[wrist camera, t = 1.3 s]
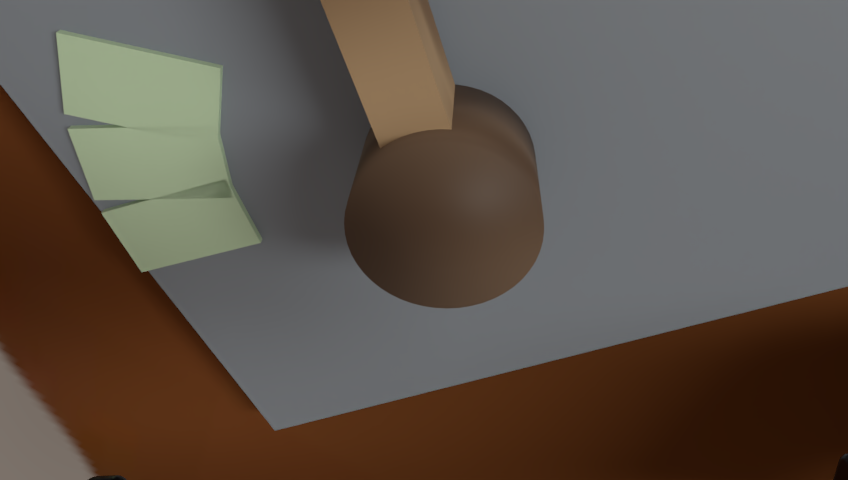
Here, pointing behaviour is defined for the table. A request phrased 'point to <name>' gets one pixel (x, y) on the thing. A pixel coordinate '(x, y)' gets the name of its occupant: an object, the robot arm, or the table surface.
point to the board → (555, 157)
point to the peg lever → (433, 166)
